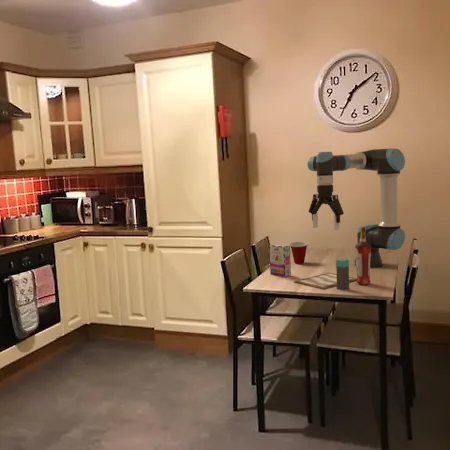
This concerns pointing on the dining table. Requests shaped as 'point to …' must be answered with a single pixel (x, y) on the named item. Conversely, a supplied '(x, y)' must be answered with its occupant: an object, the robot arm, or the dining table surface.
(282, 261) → the candy bar box
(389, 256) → the dining table surface
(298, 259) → the plastic cup
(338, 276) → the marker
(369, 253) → the liquor
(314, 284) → the striped kitchen towel
